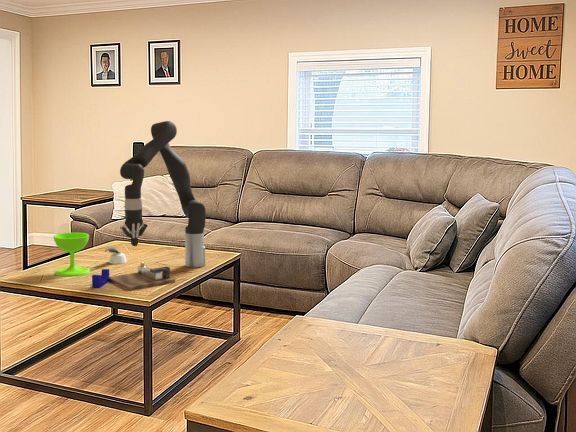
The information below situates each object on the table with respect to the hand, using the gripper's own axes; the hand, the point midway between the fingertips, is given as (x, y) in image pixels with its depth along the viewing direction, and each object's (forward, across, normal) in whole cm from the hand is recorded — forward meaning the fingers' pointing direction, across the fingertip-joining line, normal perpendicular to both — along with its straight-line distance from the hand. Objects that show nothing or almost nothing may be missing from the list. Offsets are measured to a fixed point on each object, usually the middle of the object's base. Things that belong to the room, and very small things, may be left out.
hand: (134, 245), depth 284 cm
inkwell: (+17, -7, -37) cm, 41 cm away
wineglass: (+17, +17, -32) cm, 40 cm away
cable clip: (+17, +16, -4) cm, 23 cm away
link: (+15, -7, 0) cm, 17 cm away
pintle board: (+17, -2, +2) cm, 17 cm away
